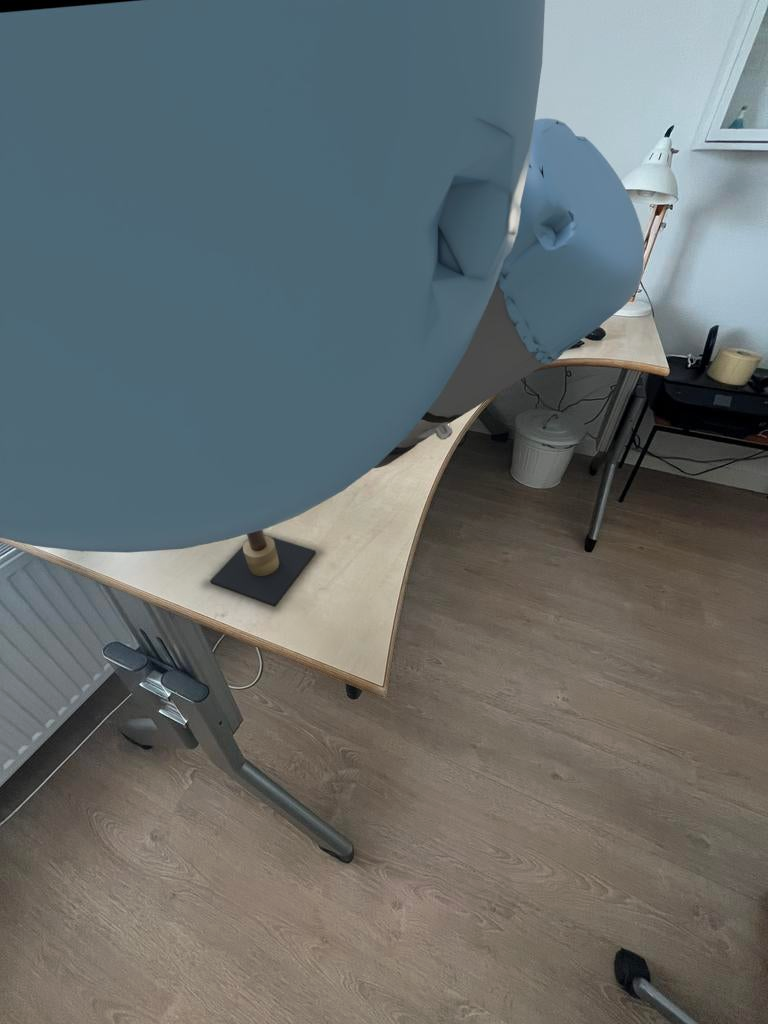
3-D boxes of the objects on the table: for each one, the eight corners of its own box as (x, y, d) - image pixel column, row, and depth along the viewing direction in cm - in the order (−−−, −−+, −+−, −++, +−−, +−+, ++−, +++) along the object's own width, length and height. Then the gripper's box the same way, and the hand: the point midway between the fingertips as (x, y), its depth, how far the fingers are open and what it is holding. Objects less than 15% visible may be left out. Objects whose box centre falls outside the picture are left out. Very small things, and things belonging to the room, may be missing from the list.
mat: (275, 606, 59) (274, 604, 58) (210, 583, 62) (209, 580, 62) (315, 552, 66) (315, 550, 66) (256, 534, 70) (255, 532, 69)
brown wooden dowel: (250, 579, 62) (211, 462, 49) (248, 558, 65) (211, 442, 52) (281, 572, 63) (250, 455, 50) (277, 551, 66) (248, 436, 53)
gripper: (255, 545, 22) (196, 585, 39) (514, 385, 35) (384, 468, 53) (170, 416, 21) (149, 515, 39) (466, 304, 35) (351, 416, 52)
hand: (285, 488), depth 46 cm, fingers open, 13 cm apart
